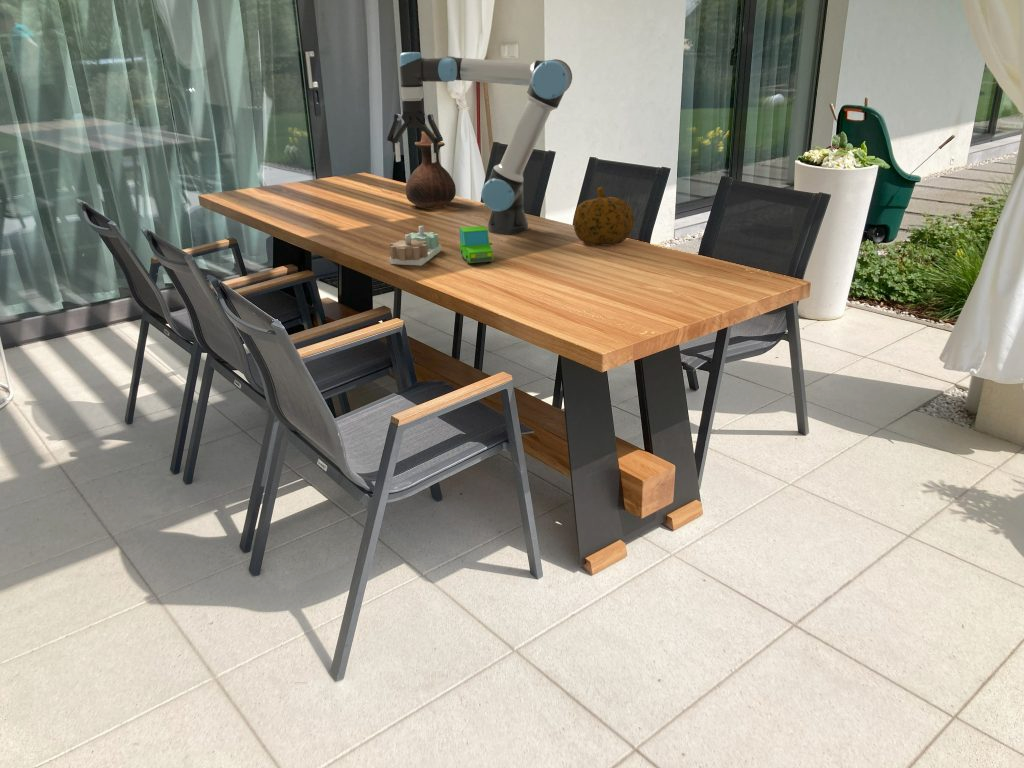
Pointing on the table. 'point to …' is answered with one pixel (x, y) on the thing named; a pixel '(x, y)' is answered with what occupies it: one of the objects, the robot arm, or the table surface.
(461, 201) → the table surface
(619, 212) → the decorative pumpkin
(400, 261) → the gear board
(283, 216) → the table surface
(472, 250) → the toy car
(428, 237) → the loose gear
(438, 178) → the brown wooden bulbous vase
